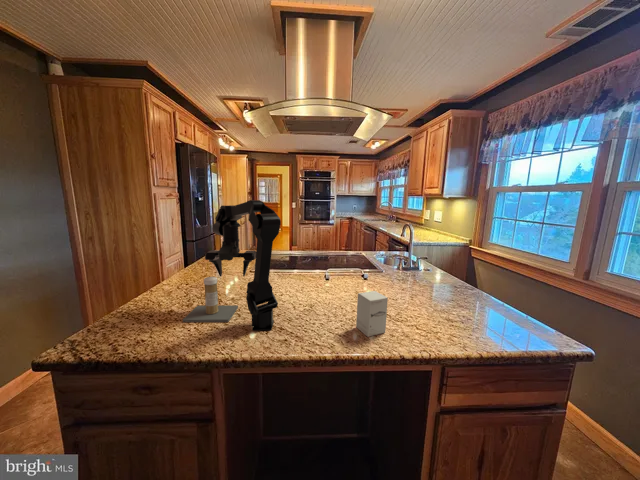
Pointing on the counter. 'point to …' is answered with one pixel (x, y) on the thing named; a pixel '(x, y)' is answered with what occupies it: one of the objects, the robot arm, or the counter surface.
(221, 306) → the gray tray
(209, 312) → the sprinkles bottle
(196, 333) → the counter surface
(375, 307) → the supplement box
